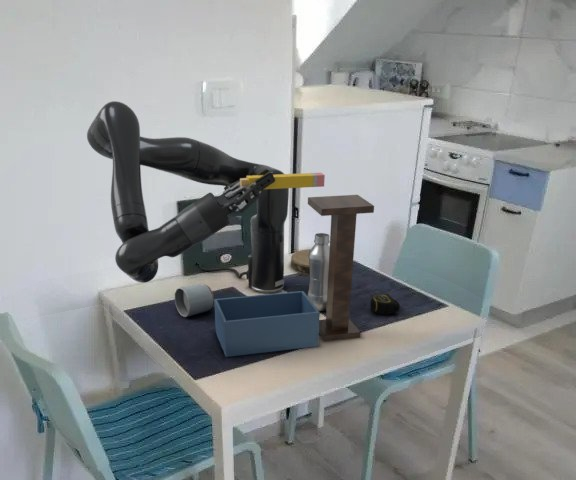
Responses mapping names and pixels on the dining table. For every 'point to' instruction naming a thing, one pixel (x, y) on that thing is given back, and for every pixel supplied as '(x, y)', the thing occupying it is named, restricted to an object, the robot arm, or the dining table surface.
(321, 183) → the pencil
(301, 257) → the brown flat round disc
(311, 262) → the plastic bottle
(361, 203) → the shelf stand
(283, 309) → the blue open rectangular box
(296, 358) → the dining table surface
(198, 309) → the ceramic mug
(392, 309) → the tape measure
